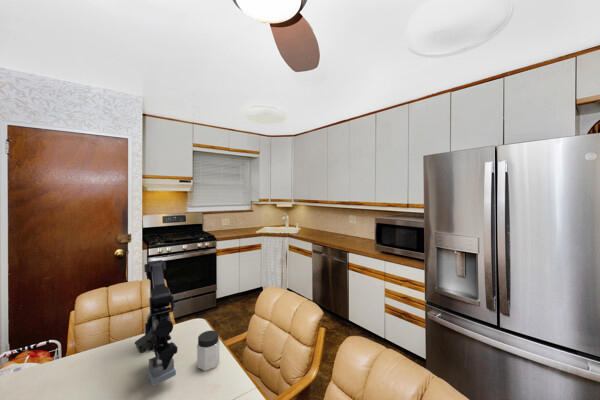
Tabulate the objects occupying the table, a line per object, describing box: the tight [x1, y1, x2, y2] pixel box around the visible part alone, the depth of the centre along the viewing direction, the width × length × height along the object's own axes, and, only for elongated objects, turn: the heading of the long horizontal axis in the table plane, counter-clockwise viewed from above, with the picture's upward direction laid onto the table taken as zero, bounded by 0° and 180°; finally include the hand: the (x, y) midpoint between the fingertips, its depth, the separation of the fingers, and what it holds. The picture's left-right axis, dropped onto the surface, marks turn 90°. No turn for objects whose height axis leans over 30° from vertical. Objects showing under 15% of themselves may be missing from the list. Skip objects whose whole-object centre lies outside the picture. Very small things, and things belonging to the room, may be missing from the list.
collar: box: [148, 356, 175, 379], centre depth 97 cm, size 7×7×4 cm
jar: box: [196, 330, 220, 372], centre depth 103 cm, size 9×8×12 cm
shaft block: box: [146, 359, 177, 386], centre depth 97 cm, size 8×8×6 cm
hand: (161, 363), depth 97 cm, fingers open, 9 cm apart
